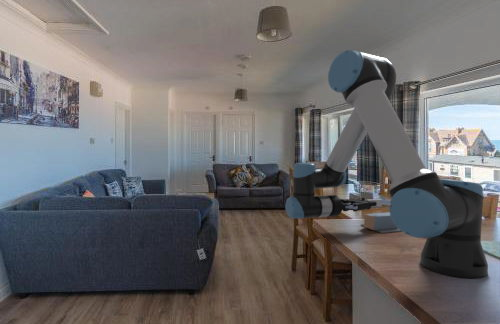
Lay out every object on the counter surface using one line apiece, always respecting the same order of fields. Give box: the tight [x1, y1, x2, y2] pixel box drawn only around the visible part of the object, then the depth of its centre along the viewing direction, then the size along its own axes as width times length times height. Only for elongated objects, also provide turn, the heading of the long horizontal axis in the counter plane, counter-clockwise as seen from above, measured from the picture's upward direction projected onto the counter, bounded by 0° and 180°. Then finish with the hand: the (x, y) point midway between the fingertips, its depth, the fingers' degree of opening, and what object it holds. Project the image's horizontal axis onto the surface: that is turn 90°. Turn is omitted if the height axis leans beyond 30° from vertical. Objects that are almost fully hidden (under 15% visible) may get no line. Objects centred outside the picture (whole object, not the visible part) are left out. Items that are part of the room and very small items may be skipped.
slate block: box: [363, 211, 398, 231], centre depth 127 cm, size 5×5×12 cm
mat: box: [360, 223, 402, 234], centre depth 128 cm, size 15×12×1 cm
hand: (380, 202), depth 126 cm, fingers closed
